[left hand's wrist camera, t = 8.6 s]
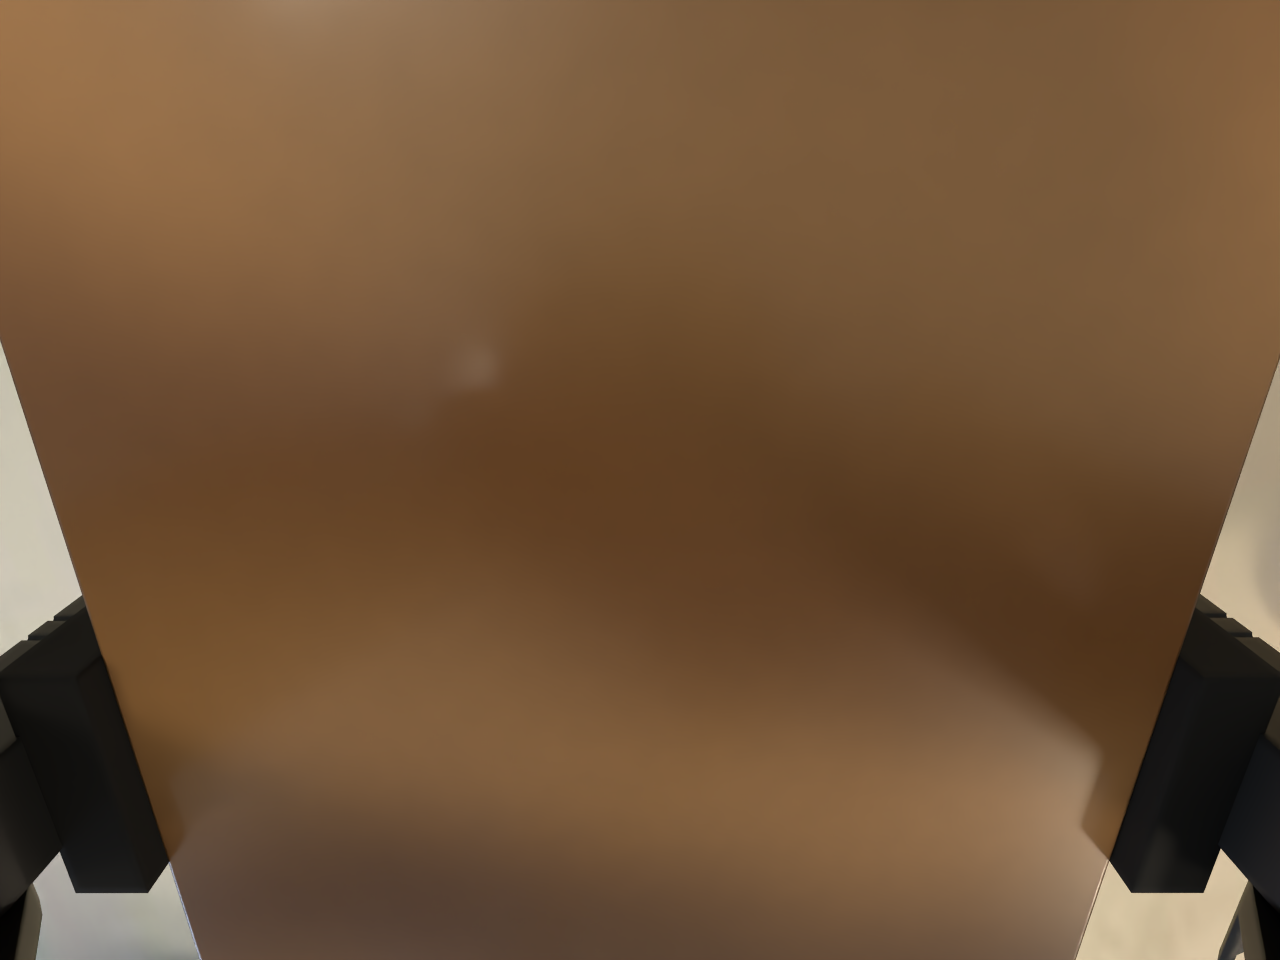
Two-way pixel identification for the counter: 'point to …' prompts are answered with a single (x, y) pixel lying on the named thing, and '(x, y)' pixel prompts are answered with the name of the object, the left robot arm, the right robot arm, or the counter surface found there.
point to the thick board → (640, 449)
